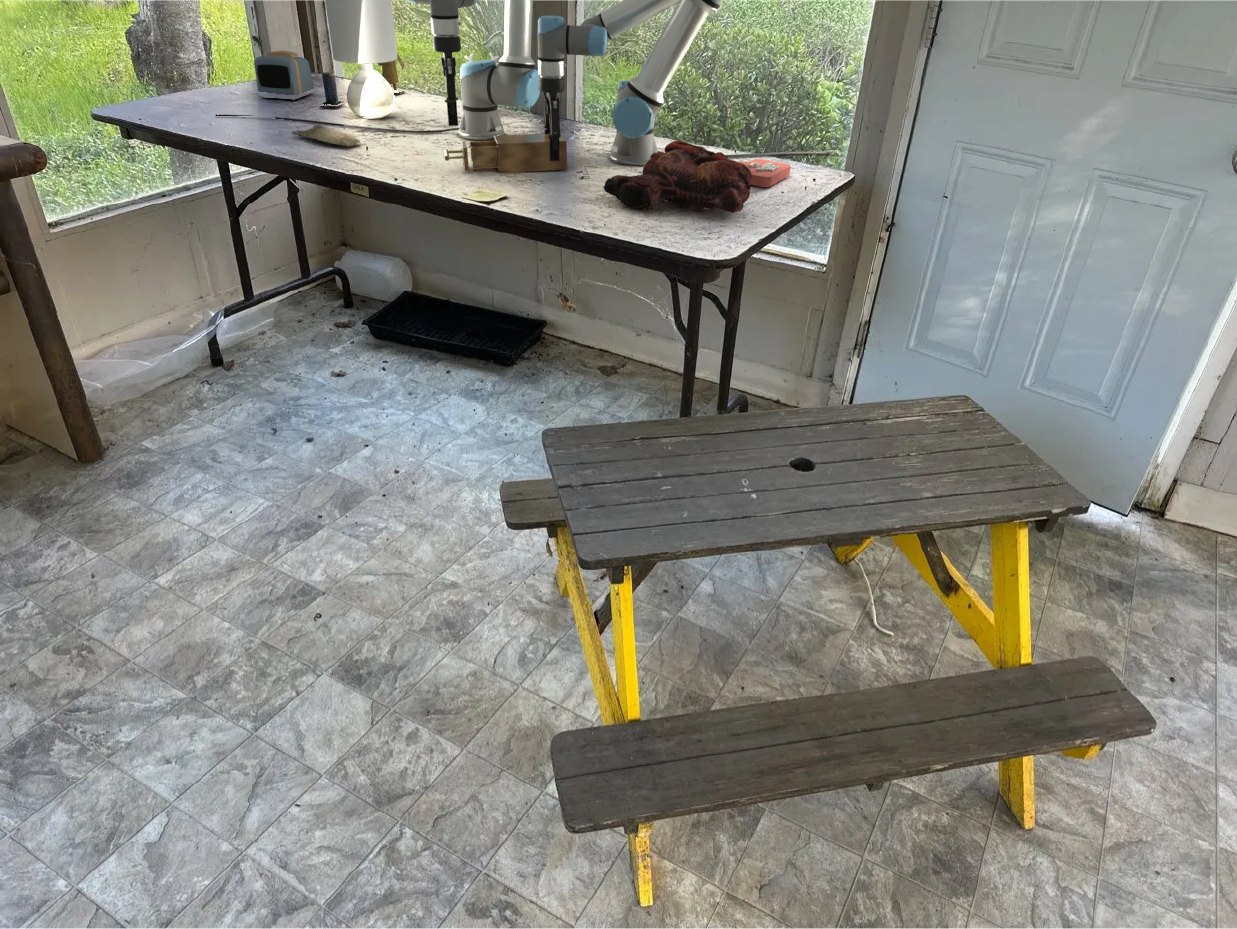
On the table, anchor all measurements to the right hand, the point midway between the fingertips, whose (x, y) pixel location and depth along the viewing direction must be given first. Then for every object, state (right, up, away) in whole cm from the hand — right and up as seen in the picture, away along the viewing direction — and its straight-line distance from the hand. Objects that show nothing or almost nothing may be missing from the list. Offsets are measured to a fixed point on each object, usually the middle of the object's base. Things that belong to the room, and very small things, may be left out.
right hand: (552, 155), depth 257 cm
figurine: (-70, +55, +83) cm, 122 cm away
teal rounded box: (-109, +50, +73) cm, 140 cm away
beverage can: (-87, +40, +60) cm, 113 cm away
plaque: (+62, -8, -2) cm, 62 cm away
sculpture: (+36, -23, -26) cm, 50 cm away
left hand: (-28, +5, -11) cm, 30 cm away
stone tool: (-74, +12, +19) cm, 78 cm away
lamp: (-69, +32, +50) cm, 91 cm away
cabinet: (-6, -3, 0) cm, 7 cm away
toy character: (-30, +40, +63) cm, 80 cm away
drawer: (-19, -4, -2) cm, 20 cm away
